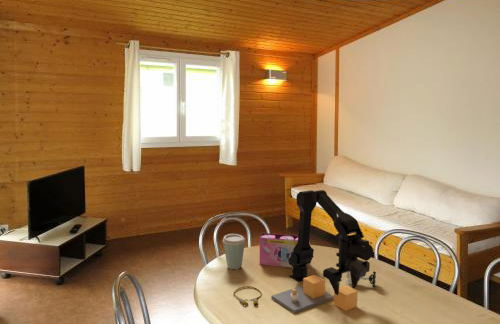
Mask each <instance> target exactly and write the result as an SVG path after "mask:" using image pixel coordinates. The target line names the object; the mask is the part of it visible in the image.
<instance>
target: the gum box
mask: <svg viewBox="0 0 500 324" xmlns="http://www.w3.org/2000/svg"><path fill="white" fill-rule="evenodd" d="M258 238H259V265H262V264H263V266H271V267H272V266H273V267H274V266H275V267H283V268H284V267H285V268H292V266H291V265H290V264H289V262H288V259H289V258H290V257H291V256H292V255H293V249H294V247H295V246H296V244H297V243H298V234H284V233H283V234H282V233H273V232H272V233H270V232H262V233H261V234H260V236H259V237H258ZM310 241H311V240H310ZM310 241H309V244H310V245H311V243H312V242H310ZM306 265H307V266H308V264H306Z"/></svg>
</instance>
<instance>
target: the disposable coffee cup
mask: <svg viewBox="0 0 500 324" xmlns="http://www.w3.org/2000/svg"><path fill="white" fill-rule="evenodd" d="M222 243H223V248H224V255H225V259H226V265H227V267H228V269H229V268H230V269H229V270H232V269H236V270H239V268H240V267H241V268H242V265H243V260H244V259H243V258H244V252H245V244H246V239H245V237H244V236H243V235H241V234H238V233H229V234H226V235H224V236H223V239H222ZM241 268H240V269H241Z"/></svg>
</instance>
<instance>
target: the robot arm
mask: <svg viewBox="0 0 500 324" xmlns="http://www.w3.org/2000/svg"><path fill="white" fill-rule="evenodd" d="M317 204H318V205H319V206H320V208H322V210H324V212H325V213H326V214H327V216H329V217H330V218H331V219H332V221H333V227H334V228H335V230H336V231H337V234H335V238H338V252H336V256H337V257H338V262H337V263H335V266H336V267H337V268H334V267H332V266H331V267H327V268H325V269H323V270H322V276H323V278H326V279H327V280H328V281H329V283H330V285H331V287H332V290H333V293H334V292H335V294H336V295H338V293H339V287H340V283H341V282H342V281H343V279H342V278H343V275H344V274H346V273H347V272H350V274H351V282H352V285H351V286H352V287H351V288H352V289H354V290H356V288H357V286H358V283H359V279H360V277H364V276H367V273H368V272H370V271H371V270H370V268H371V267H370V265H371V264H370V262H369V260H370V259H371V258H372V257H373V254H374V249H373V245H371V244H370V240H367V239H364V238H365V236H364V234H363V231H362V229H361V227H360V225H359V222H358V220H357V219H356V218H355V217H354V216H353V215H351V214H349V213H347V212H345V211H343V210H342V209H341V208H340V207H339V206H338V204H337V203H335V201H333V199H332V198H331V197H330V196H329V195H328V194H327V192H326V190H324V189H320V190H319V189H318V190H311V189H310V190H303V191H299V192H297V194H296V206H297V208H298V211H299V219H298V221H299V222H298V233H297V235H298V243H297V244H296V246H295V247H294V249H293V255H292V256H291V257H290V258H289V259H288V262H289V264H290V265H291V266H292V267H291V268H292V270H291V271H292V273H291V274H290V275H289V278H291V279H292V280H296V281H297V282H301V281H303V278H306V277H309V276H310V275H308V265H311V264H312V263H311V262H312V260H313V258H314V248H313V247H312V246H311V244H309V241H311V240H310V238H311V225H312V213H313V211H314V209H315V208H316V207H317V206H316V205H317ZM363 260H364V261H363ZM306 264H307V265H306ZM360 280H361V279H360Z"/></svg>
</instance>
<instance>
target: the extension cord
mask: <svg viewBox="0 0 500 324" xmlns="http://www.w3.org/2000/svg"><path fill="white" fill-rule="evenodd" d="M245 287H247V288H246V289H252V288H254V289H253V290H256V289H257V290H256V291H258V293H260V295H259V296H257V297H255V298H253V299H251V301H253V303H252V304H253V306H256V307H258V305H259V301H258V300H259V299H260V297H262V291H261V290H260V289H258V288H257V287H255V286H249V285H248V286H247V285H243V286H241V287H237V288H236V289H235V290H234V291H233V293H234V296H235V297H237V298H238V300H239V302H240V303H242V304H241V305H242V306H244V305H246V306H249V303H248V301H247V300H246V299H245V300H243V298H239V296H237V295H236V292H235V291H237V290H238V289H240V290H241V288H243V289H244V288H245ZM238 291H239V290H238ZM237 298H236V299H237Z"/></svg>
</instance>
